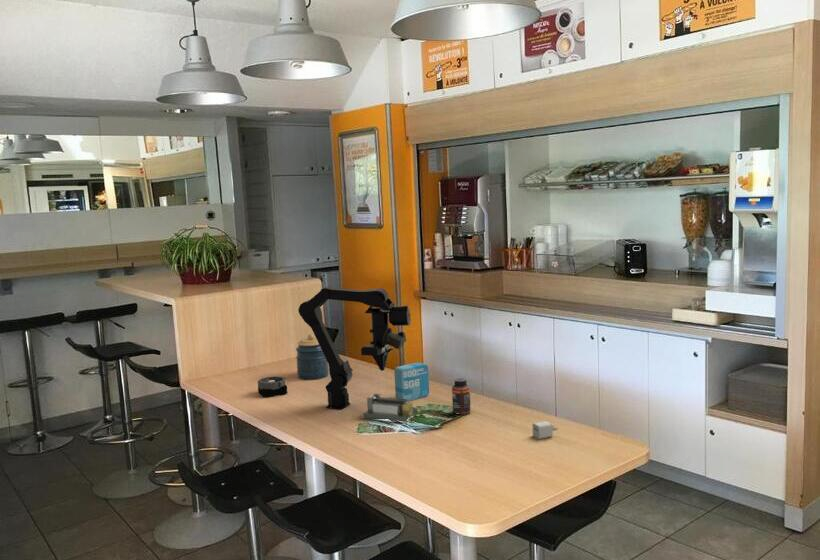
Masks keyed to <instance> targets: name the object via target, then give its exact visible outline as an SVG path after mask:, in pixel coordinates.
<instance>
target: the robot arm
mask: <svg viewBox="0 0 820 560" xmlns="http://www.w3.org/2000/svg"><path fill="white" fill-rule="evenodd" d="M329 300H331V301H332V300H333V301H344V302H355V303H361V304H363V305H366V306H368V308H367V309H366V310H365V311H364V313H365V314H371V316H370V317H371V318H370V319H371V328H370V329H369V333H371V334H372V335H371V337H372V340H371V341H370V343H369V344H367V345H366V344H365V345H364V346H362V348H360V353H361V356H370V357H371V356H372V358H373V360H374V361H375V363H376V365H377V366H378V368H379V371H384V370H385V367H386V364H387V360H388V356H389V354H390V353H391V352H392V351H393V350H394V349H396V350H400V348H403V347H404V345H405V342H407V337H406V333H405V332H404V331H399V332H398V333H397V332H396V333H395V332H393V331H392V327H389V324H391V325H392V326H394V327H399V326H401V327H402V326H406V327H407V326H408V327H409V326H410V325H411V318H412V317H411V313H410V309H409V305H395V303H394V302H393V301H392V300H391V299H390V297H389V293H388V292H387V290H386V289H384V288H381V287H379V288H371V289H364V290H363V289H362V290H360V289H349V288H338V287H331V286H326V287H323V288H321V289H320V291H319V292H317V294H315V295H314V296H313V297H311V298H310V299H308V300H306V301H303V302H302V303H300V305H299V307H298V314H299V315H300V317H301V319H302V320H303V322H304V323H306V324H307V326H309V327H310V329H311V330H312V332H313V335H314V338H316V339H317V341H318V343H319V345H320V347H321V349H322V351H323V353H324V355H325V358H326V360H327V362H328V368H329V376H330V379H331V380H330V381H329V383H327V384H326V385H325V390H326V392H327V405H326V406H325V408H326V409H335V410H343V409H344V408H346V407H348V406H350V405H351V402H350V397H349V392H348V388H346V387H347V386H348V383H349V382H351V381H352V378H353V371H354V370H353V369H352V367H351V365H350V363H349V360H345V361H344V360H343V359H342V358H341V357H340V354H339V352H338V350H337V348H336V346H335V344H334V342H333V340H332V338H331V336H330V333H329V331H328V329H327V328H326V325H325V324H324V320H323V312H322V308H321V307H322V306H324V304H325V303H327V302H328V301H329ZM390 346H391V347H392V348H391V347H390Z"/></svg>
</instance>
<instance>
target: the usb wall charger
mask: <svg viewBox="0 0 820 560" xmlns="http://www.w3.org/2000/svg"><path fill="white" fill-rule="evenodd" d="M531 428H532V436H533V437H535V438H536V439H538V440H541V439H547V438H552V437H553V432H555V431H558V430H559V428H558V427H555V426H554V425H553V424H552V423H550V422H549V421H548V420H547V421H546V420H545V421H539V422H538V421H537V422H533V423H532V427H531Z"/></svg>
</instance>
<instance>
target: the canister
mask: <svg viewBox="0 0 820 560" xmlns="http://www.w3.org/2000/svg"><path fill="white" fill-rule="evenodd" d="M295 351H296V353H297V354H296V356H295V358H296V366H297V367H296V368H297V371H296V373H297V377H298V378H299V379H301V380H319V379H322V378H326V377H328V376H329V374H330V372H329V364H328V362H327V360H326V358H325V355H324V353H323V351H322V349H321V347H320V345H319V343H318V341H317V339H316V337H315V335H314V333H313V334H312V333H309V334H308V335H307V338H306V337H305V338H301V339H300V341H298V342H297V347H295Z"/></svg>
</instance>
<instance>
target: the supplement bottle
mask: <svg viewBox="0 0 820 560" xmlns="http://www.w3.org/2000/svg"><path fill="white" fill-rule="evenodd" d="M467 381H468V380H467V379H466V378H464V377H463V378H462V377H460V378H455V379H454V385H453V386H452V387H451V400H452V412H455V413H459V414H461V415H460V416H465V415H468V414H470V413H471V411H472V409H471V408H472V407H471V388H470V385H468V384H467Z"/></svg>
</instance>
